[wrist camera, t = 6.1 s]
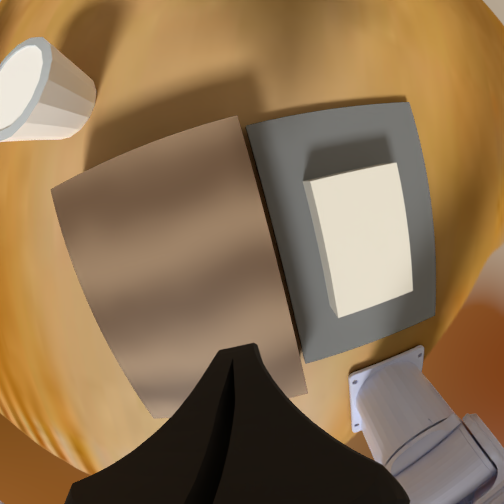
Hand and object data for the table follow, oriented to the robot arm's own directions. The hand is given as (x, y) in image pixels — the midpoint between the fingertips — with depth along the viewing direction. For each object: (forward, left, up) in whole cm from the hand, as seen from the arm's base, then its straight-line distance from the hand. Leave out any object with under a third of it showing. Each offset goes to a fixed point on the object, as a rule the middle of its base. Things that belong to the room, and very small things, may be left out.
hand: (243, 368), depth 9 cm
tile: (+1, -8, -9) cm, 12 cm away
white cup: (+16, +10, -11) cm, 22 cm away
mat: (0, -9, -10) cm, 14 cm away
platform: (0, +4, -10) cm, 11 cm away
